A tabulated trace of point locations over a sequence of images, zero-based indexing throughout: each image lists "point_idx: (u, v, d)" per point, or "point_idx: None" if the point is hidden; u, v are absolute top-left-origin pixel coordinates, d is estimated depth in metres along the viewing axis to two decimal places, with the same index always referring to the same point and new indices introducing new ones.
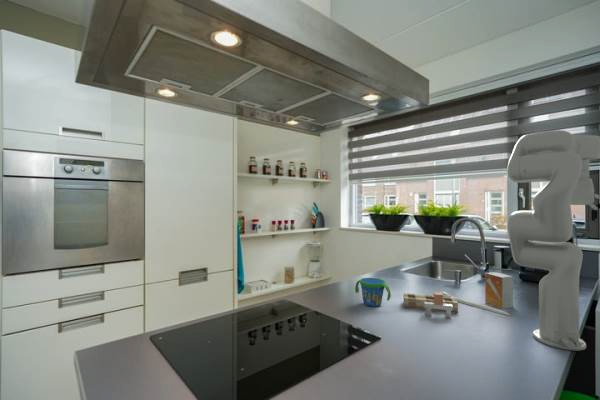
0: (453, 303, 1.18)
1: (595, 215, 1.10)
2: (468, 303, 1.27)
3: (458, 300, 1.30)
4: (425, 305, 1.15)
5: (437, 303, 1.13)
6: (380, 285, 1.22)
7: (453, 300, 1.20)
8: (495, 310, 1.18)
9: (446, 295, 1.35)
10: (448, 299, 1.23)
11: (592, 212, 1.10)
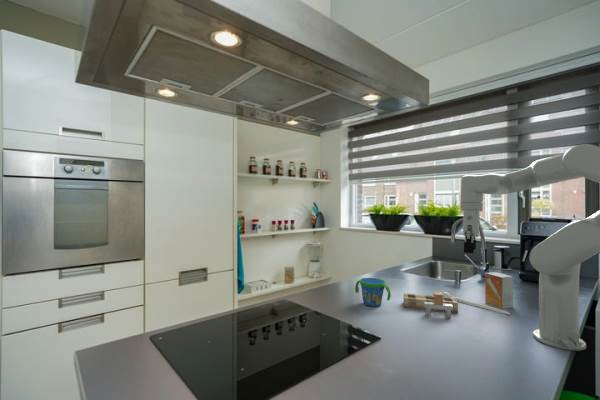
0: (453, 303, 1.18)
1: (473, 244, 1.19)
2: (469, 303, 1.27)
3: (459, 300, 1.30)
4: (425, 305, 1.15)
5: (437, 303, 1.13)
6: (380, 285, 1.22)
7: (453, 300, 1.20)
8: (497, 310, 1.18)
9: (447, 295, 1.35)
10: (448, 299, 1.23)
11: (475, 242, 1.18)
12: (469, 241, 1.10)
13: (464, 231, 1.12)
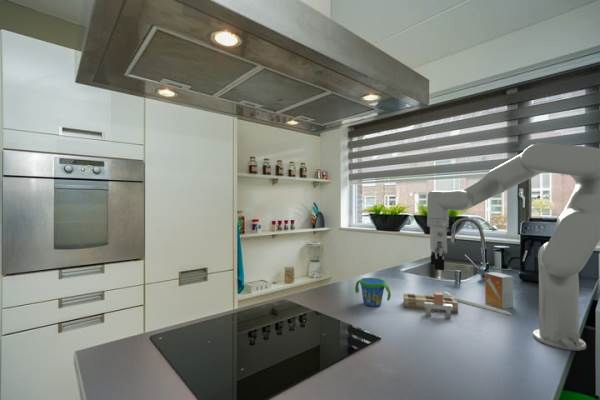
0: (453, 303, 1.18)
1: None
2: (470, 303, 1.27)
3: (460, 300, 1.30)
4: (425, 305, 1.15)
5: (437, 303, 1.13)
6: (380, 285, 1.22)
7: (453, 300, 1.20)
8: (497, 310, 1.18)
9: (448, 295, 1.35)
10: (448, 299, 1.23)
11: None
12: (440, 258, 1.08)
13: (434, 248, 1.10)
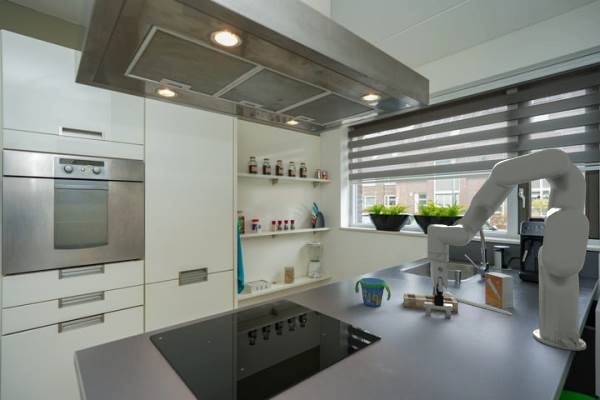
0: (453, 303, 1.18)
1: None
2: (471, 303, 1.26)
3: (461, 300, 1.30)
4: (425, 305, 1.15)
5: None
6: (380, 285, 1.22)
7: (453, 300, 1.20)
8: (499, 310, 1.18)
9: (449, 295, 1.35)
10: (448, 299, 1.23)
11: None
12: (440, 296, 1.11)
13: (435, 283, 1.10)
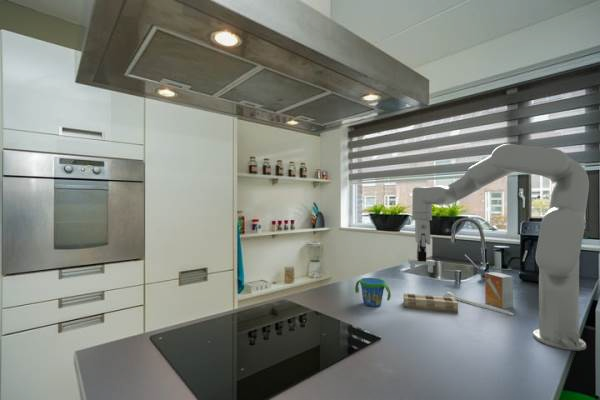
0: (453, 303, 1.18)
1: None
2: (473, 303, 1.26)
3: (463, 300, 1.30)
4: (409, 261, 1.24)
5: None
6: (380, 285, 1.22)
7: (453, 300, 1.20)
8: (500, 310, 1.18)
9: (451, 295, 1.35)
10: (448, 299, 1.23)
11: None
12: (423, 251, 1.21)
13: (418, 239, 1.19)
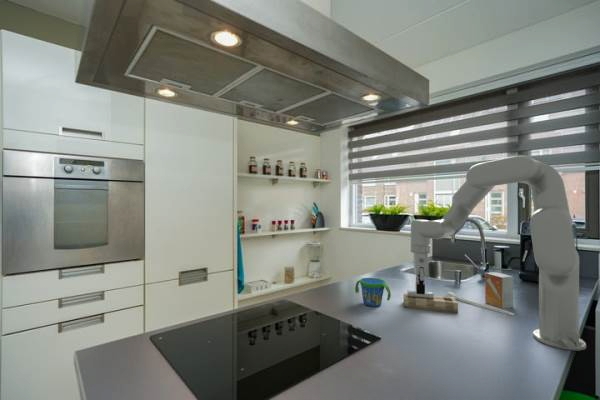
0: (453, 303, 1.18)
1: None
2: (474, 303, 1.26)
3: (464, 300, 1.30)
4: (408, 293, 1.25)
5: None
6: (380, 285, 1.22)
7: (453, 300, 1.20)
8: (501, 311, 1.18)
9: (452, 295, 1.35)
10: (448, 299, 1.23)
11: None
12: (421, 284, 1.21)
13: (417, 273, 1.20)
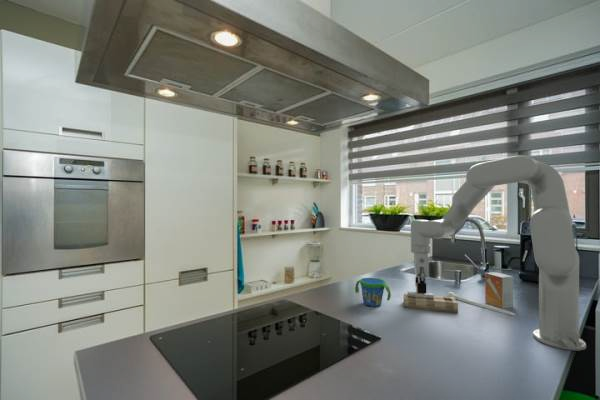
0: (453, 303, 1.18)
1: None
2: (474, 303, 1.26)
3: (465, 300, 1.30)
4: (408, 294, 1.25)
5: None
6: (380, 285, 1.22)
7: (453, 300, 1.20)
8: (502, 311, 1.18)
9: (453, 295, 1.35)
10: (448, 299, 1.23)
11: None
12: (423, 282, 1.18)
13: (417, 273, 1.20)
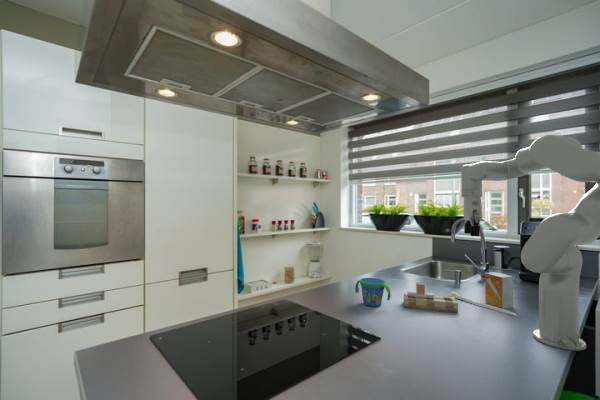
0: (453, 303, 1.18)
1: None
2: (477, 303, 1.26)
3: (467, 300, 1.30)
4: (408, 294, 1.25)
5: (419, 292, 1.23)
6: (380, 285, 1.22)
7: (453, 300, 1.20)
8: (504, 311, 1.17)
9: (455, 295, 1.35)
10: (448, 299, 1.23)
11: None
12: (476, 225, 1.18)
13: (470, 216, 1.19)
